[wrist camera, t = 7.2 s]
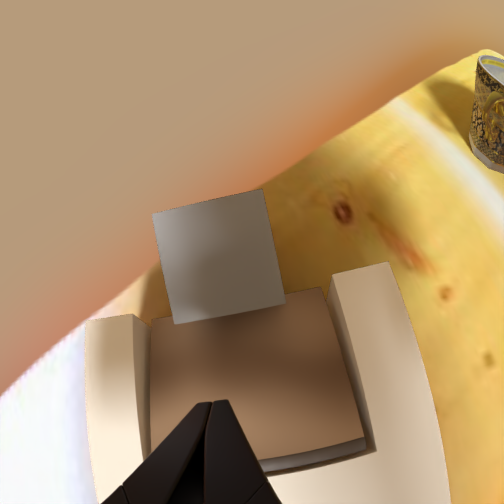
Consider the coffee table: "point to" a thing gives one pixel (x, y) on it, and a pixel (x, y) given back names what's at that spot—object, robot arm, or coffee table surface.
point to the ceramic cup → (488, 113)
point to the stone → (218, 257)
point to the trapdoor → (261, 380)
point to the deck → (362, 383)
